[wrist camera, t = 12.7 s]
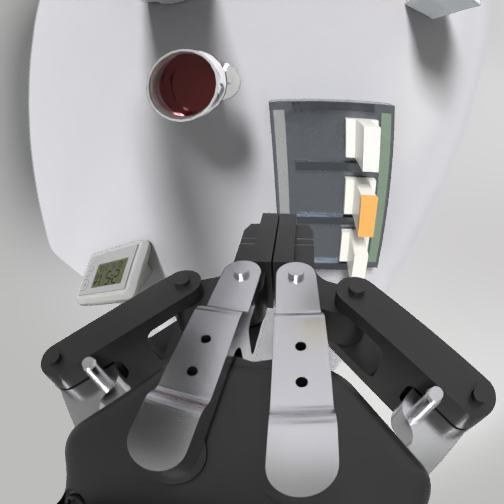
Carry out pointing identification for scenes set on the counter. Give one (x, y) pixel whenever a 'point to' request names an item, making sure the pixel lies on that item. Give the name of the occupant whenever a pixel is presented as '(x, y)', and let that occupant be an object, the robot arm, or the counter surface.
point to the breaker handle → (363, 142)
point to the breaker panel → (326, 169)
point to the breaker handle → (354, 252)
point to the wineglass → (190, 84)
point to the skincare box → (441, 6)
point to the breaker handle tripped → (361, 203)
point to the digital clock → (115, 274)
